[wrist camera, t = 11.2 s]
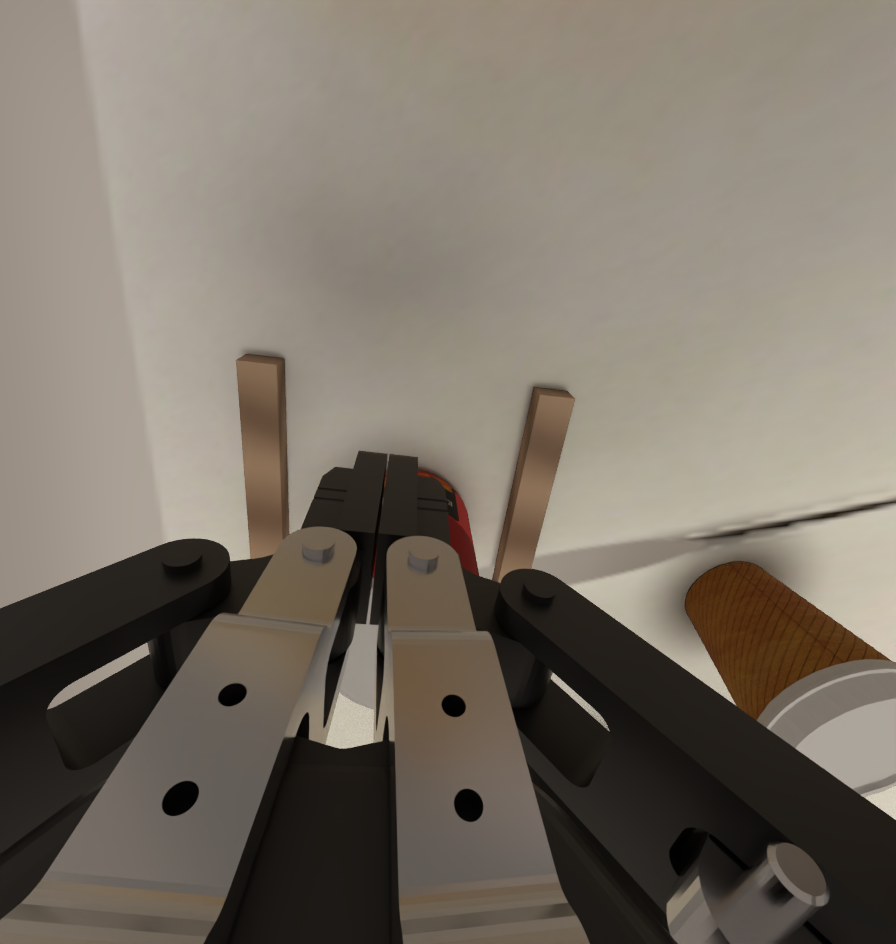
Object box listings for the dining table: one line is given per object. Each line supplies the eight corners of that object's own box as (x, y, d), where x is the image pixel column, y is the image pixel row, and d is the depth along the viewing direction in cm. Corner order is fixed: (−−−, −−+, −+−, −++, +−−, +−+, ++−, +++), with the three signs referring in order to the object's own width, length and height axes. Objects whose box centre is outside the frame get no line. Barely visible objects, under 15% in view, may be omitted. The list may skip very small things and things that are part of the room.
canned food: (459, 456, 28) (480, 569, 18) (474, 559, 31) (500, 702, 21) (336, 475, 28) (290, 599, 18) (366, 576, 31) (341, 726, 22)
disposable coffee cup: (750, 647, 37) (887, 812, 26) (643, 633, 35) (741, 801, 25) (815, 553, 33) (1009, 701, 22) (697, 533, 31) (842, 681, 21)
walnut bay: (246, 354, 24) (236, 360, 23) (567, 391, 26) (575, 398, 25) (263, 624, 33) (256, 640, 31) (505, 637, 35) (508, 653, 33)
